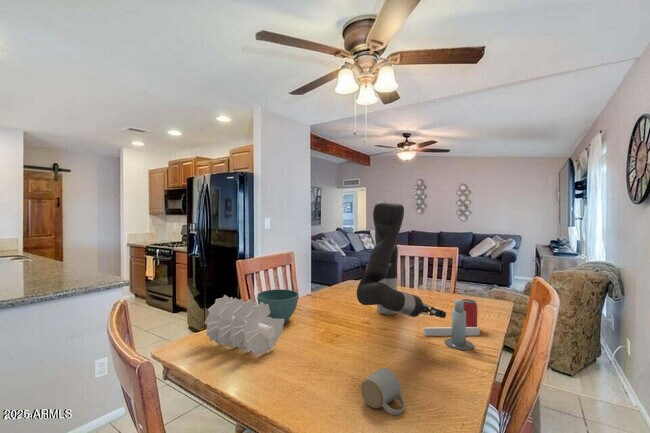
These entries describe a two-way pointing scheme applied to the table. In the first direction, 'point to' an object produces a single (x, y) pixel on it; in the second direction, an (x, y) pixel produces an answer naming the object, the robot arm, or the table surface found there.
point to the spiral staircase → (243, 325)
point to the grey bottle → (459, 324)
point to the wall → (448, 331)
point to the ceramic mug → (382, 390)
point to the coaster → (466, 347)
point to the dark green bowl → (279, 303)
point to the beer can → (470, 312)
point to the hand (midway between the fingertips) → (435, 312)
